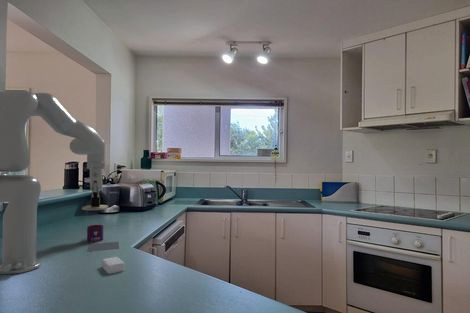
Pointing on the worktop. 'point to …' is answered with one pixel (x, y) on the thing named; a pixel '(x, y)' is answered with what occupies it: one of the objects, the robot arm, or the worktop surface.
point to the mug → (94, 233)
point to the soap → (113, 265)
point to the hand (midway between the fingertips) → (95, 205)
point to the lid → (95, 206)
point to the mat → (103, 246)
